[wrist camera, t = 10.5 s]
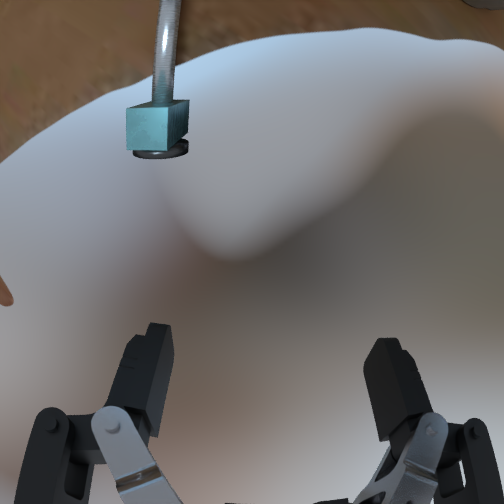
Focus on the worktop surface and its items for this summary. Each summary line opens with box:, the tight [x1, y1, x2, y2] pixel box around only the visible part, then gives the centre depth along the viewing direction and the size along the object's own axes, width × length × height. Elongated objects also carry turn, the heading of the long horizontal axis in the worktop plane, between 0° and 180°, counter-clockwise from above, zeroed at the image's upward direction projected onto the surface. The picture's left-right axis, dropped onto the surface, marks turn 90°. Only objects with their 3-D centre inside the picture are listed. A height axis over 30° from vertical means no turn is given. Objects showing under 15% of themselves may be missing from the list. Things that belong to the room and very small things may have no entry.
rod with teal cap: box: [126, 0, 189, 159], centre depth 24 cm, size 6×21×9 cm, turn 174°
